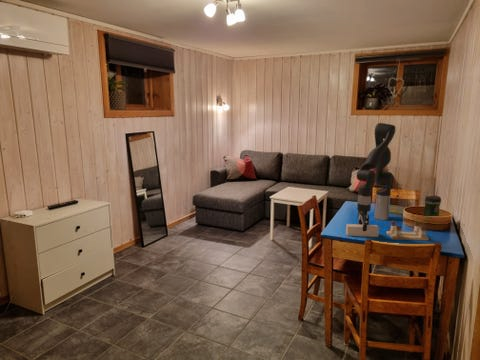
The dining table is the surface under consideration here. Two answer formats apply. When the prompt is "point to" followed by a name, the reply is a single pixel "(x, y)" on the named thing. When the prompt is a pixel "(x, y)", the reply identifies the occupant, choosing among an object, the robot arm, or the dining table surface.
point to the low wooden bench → (407, 233)
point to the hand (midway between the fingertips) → (362, 228)
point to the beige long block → (358, 230)
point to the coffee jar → (432, 206)
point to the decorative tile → (396, 210)
